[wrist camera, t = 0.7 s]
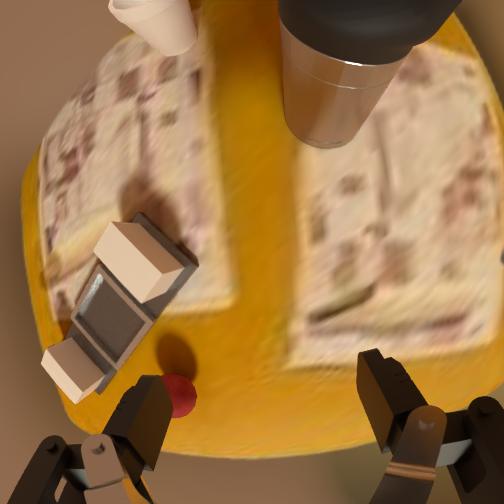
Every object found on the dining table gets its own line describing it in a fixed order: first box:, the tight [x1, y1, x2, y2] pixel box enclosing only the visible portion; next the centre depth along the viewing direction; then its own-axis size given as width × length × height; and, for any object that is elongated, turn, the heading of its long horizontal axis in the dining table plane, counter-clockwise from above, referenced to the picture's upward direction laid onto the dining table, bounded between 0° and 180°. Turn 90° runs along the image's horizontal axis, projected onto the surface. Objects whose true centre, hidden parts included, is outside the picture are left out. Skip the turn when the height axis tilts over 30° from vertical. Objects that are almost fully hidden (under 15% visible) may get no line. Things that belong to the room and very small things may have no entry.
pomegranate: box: [160, 374, 197, 418], centre depth 29 cm, size 6×6×8 cm
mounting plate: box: [64, 212, 199, 395], centre depth 33 cm, size 28×11×2 cm, turn 139°
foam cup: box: [108, 0, 197, 56], centre depth 24 cm, size 10×9×13 cm
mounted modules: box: [41, 222, 185, 404], centre depth 30 cm, size 26×8×6 cm, turn 139°
